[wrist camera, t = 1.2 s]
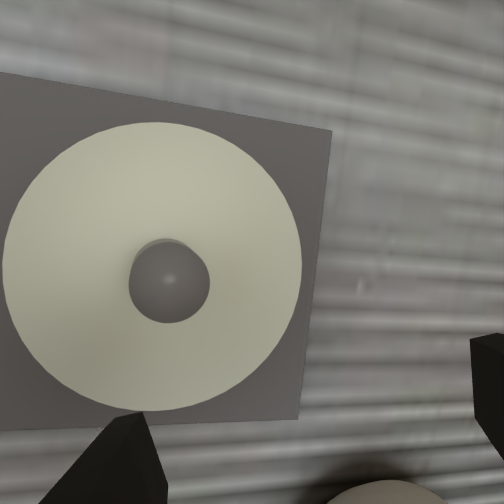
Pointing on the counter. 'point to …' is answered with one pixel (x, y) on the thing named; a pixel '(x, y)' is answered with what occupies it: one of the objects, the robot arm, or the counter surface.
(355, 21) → the counter surface
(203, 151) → the lid
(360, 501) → the teacup
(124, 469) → the robot arm
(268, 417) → the mat
